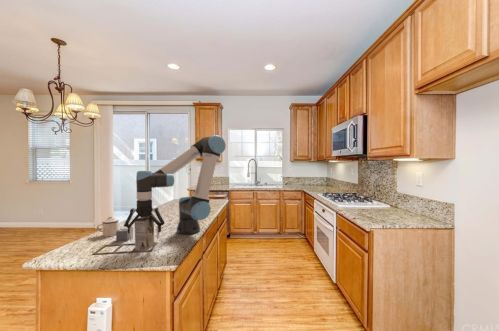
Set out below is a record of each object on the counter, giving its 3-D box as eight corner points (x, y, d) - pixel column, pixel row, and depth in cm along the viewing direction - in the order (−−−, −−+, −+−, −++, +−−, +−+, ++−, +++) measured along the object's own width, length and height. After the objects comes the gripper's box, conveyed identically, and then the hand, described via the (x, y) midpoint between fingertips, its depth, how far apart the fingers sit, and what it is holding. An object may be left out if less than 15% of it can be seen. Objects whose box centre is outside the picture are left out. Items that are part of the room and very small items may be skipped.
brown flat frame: (157, 243, 132) (157, 242, 132) (151, 251, 119) (151, 250, 119) (104, 245, 128) (104, 244, 128) (92, 254, 115) (92, 253, 115)
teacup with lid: (119, 231, 155) (119, 214, 154) (117, 235, 146) (117, 217, 146) (98, 233, 150) (98, 216, 150) (95, 238, 142) (94, 219, 142)
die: (131, 237, 142) (130, 227, 141) (127, 241, 136) (127, 230, 136) (120, 238, 141) (120, 228, 141) (116, 241, 135) (116, 231, 135)
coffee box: (143, 244, 130) (142, 216, 129) (154, 244, 130) (154, 215, 129) (134, 250, 120) (134, 220, 120) (146, 250, 120) (146, 220, 120)
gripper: (169, 197, 130) (170, 235, 130) (122, 199, 127) (123, 237, 127) (166, 199, 123) (167, 239, 123) (116, 201, 119) (117, 242, 120)
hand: (144, 238), depth 125 cm, fingers open, 13 cm apart
